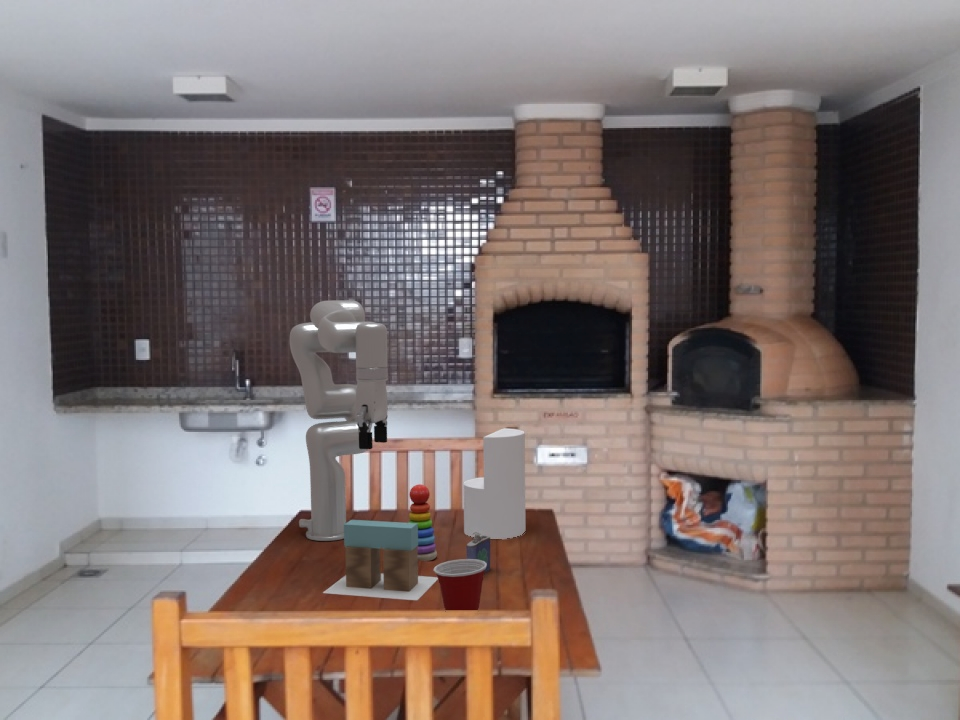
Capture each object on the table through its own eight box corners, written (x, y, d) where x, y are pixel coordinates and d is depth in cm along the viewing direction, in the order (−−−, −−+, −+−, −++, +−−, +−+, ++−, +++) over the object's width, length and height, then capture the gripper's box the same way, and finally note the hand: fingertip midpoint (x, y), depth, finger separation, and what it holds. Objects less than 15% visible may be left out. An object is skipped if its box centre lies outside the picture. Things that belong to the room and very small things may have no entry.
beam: (344, 546, 201) (343, 524, 201) (352, 541, 205) (351, 519, 205) (411, 550, 197) (411, 528, 196) (418, 545, 201) (417, 523, 201)
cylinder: (533, 526, 256) (532, 429, 254) (514, 541, 239) (513, 438, 237) (476, 521, 261) (475, 427, 259) (454, 536, 245) (453, 435, 243)
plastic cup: (444, 611, 187) (443, 555, 186) (494, 615, 184) (493, 558, 183) (426, 629, 177) (425, 570, 176) (478, 635, 174) (478, 574, 173)
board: (322, 597, 197) (322, 592, 197) (350, 575, 212) (350, 571, 212) (417, 604, 191) (417, 600, 191) (439, 581, 207) (439, 577, 206)
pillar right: (383, 589, 198) (383, 549, 198) (393, 581, 204) (392, 542, 203) (409, 591, 197) (408, 551, 196) (418, 583, 202) (417, 544, 202)
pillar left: (346, 586, 201) (345, 547, 200) (356, 578, 206) (355, 540, 206) (371, 588, 199) (370, 549, 198) (380, 580, 205) (380, 541, 204)
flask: (473, 584, 205) (473, 538, 204) (462, 582, 206) (462, 536, 205) (492, 573, 213) (492, 528, 212) (482, 571, 214) (481, 527, 213)
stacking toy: (442, 555, 227) (441, 483, 226) (427, 564, 220) (426, 489, 219) (415, 552, 231) (414, 480, 229) (400, 560, 224) (398, 486, 222)
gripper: (370, 371, 223) (372, 439, 224) (342, 377, 206) (344, 451, 207) (399, 371, 221) (400, 440, 222) (373, 378, 204) (374, 452, 205)
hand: (373, 445), depth 215 cm, fingers open, 9 cm apart
